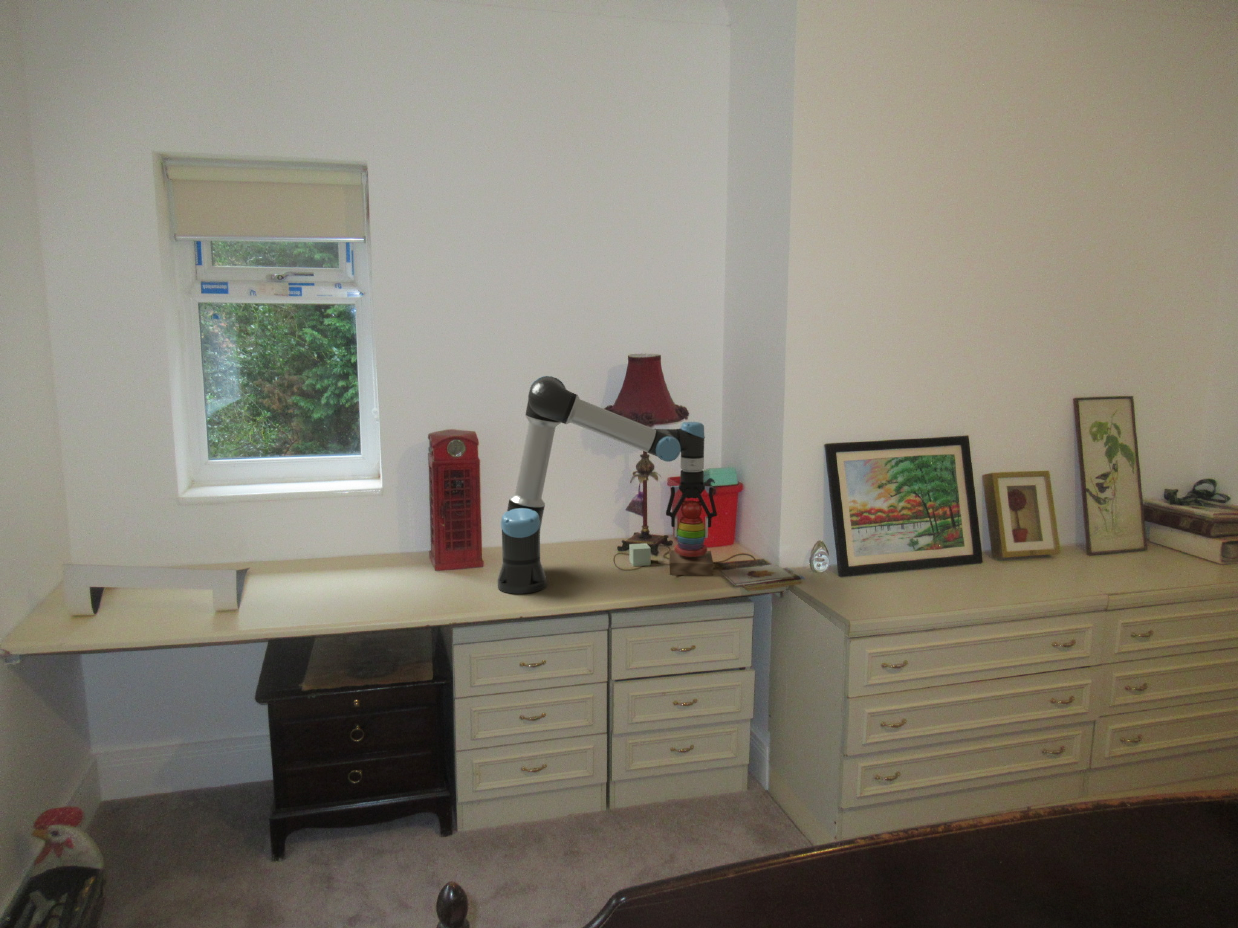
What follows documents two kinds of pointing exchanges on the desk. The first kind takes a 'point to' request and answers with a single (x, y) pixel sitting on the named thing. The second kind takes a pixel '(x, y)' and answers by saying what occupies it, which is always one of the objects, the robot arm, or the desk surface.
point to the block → (640, 554)
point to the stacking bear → (691, 531)
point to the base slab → (690, 564)
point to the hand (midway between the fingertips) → (690, 536)
